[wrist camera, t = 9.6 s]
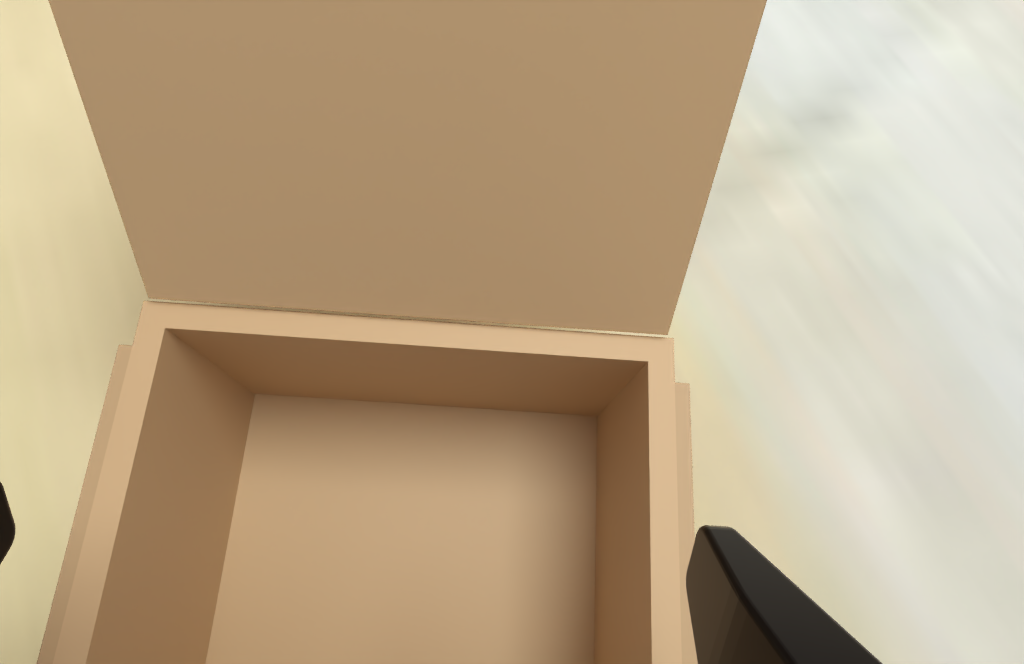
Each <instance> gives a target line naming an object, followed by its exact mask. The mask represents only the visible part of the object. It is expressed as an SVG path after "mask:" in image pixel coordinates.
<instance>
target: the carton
mask: <svg viewBox="0 0 1024 664" xmlns="http://www.w3.org/2000/svg"><path fill="white" fill-rule="evenodd" d="M694 542H695V540H694V509H693V479H692V448H691V418H690V387H689V384H687V383H675V373H674V338H663V337H649V336H635V335H621V334H606V333H592V332H578V331H564V330H550V329H536V328H522V327H508V326H493V325H479V324H465V323H451V322H437V321H423V320H409V319H395V318H381V317H366V316H352V315H338V314H324V313H310V312H296V311H282V310H268V309H254V308H239V307H225V306H211V305H197V304H183V303H169V302H155V301H144V302H143V306H142V310H141V314H140V318H139V322H138V326H137V330H136V334H135V338H134V341H133V345H132V346H130V345H119V347H118V351H117V355H116V358H115V362H114V366H113V370H112V374H111V378H110V382H109V386H108V389H107V393H106V397H105V401H104V405H103V409H102V413H101V417H100V421H99V424H98V428H97V432H96V436H95V440H94V444H93V448H92V452H91V455H90V459H89V463H88V467H87V471H86V475H85V479H84V483H83V486H82V490H81V494H80V498H79V502H78V506H77V510H76V514H75V517H74V521H73V525H72V529H71V533H70V537H69V541H68V545H67V548H66V552H65V556H64V560H63V564H62V568H61V572H60V576H59V580H58V583H57V587H56V591H55V595H54V599H53V603H52V607H51V611H50V614H49V618H48V622H47V626H46V630H45V634H44V638H43V642H42V645H41V649H40V653H39V657H38V661H37V664H698V661H697V655H696V649H695V642H694V636H693V629H692V623H691V617H690V610H689V604H688V598H687V591H686V573H687V568H688V564H689V561H690V557H691V553H692V549H693V545H694Z"/></svg>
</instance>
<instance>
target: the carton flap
mask: <svg viewBox="0 0 1024 664" xmlns="http://www.w3.org/2000/svg"><path fill="white" fill-rule="evenodd" d="M766 1H767V0H49V3H50V6H51V9H52V12H53V15H54V18H55V21H56V24H57V27H58V30H59V33H60V36H61V39H62V42H63V45H64V48H65V51H66V54H67V57H68V60H69V63H70V66H71V69H72V72H73V75H74V77H75V80H76V83H77V86H78V89H79V92H80V95H81V98H82V101H83V104H84V107H85V110H86V113H87V116H88V119H89V122H90V125H91V128H92V131H93V134H94V137H95V140H96V143H97V146H98V149H99V152H100V155H101V158H102V161H103V164H104V167H105V170H106V173H107V176H108V179H109V182H110V185H111V188H112V190H113V193H114V196H115V199H116V202H117V205H118V208H119V211H120V214H121V217H122V220H123V223H124V226H125V229H126V232H127V235H128V238H129V241H130V244H131V247H132V250H133V253H134V256H135V259H136V262H137V265H138V268H139V271H140V274H141V277H142V280H143V283H144V286H145V289H146V292H147V295H148V298H154V299H168V300H182V301H197V302H211V303H225V304H239V305H253V306H267V307H281V308H295V309H309V310H323V311H337V312H351V313H366V314H380V315H394V316H408V317H422V318H436V319H450V320H464V321H478V322H492V323H506V324H520V325H534V326H549V327H563V328H577V329H591V330H605V331H619V332H633V333H647V334H661V335H668V332H669V328H670V325H671V321H672V318H673V315H674V311H675V308H676V305H677V301H678V298H679V295H680V291H681V288H682V284H683V281H684V278H685V274H686V271H687V268H688V264H689V261H690V257H691V254H692V251H693V247H694V244H695V241H696V237H697V234H698V231H699V227H700V224H701V220H702V217H703V214H704V210H705V207H706V204H707V200H708V197H709V193H710V190H711V187H712V183H713V180H714V177H715V173H716V170H717V167H718V163H719V160H720V156H721V153H722V150H723V146H724V143H725V140H726V136H727V133H728V129H729V126H730V123H731V119H732V116H733V113H734V109H735V106H736V103H737V99H738V96H739V92H740V89H741V86H742V82H743V79H744V76H745V72H746V69H747V65H748V62H749V59H750V55H751V52H752V49H753V45H754V42H755V39H756V35H757V32H758V28H759V25H760V22H761V18H762V15H763V12H764V8H765V5H766Z"/></svg>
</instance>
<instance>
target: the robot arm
mask: <svg viewBox="0 0 1024 664" xmlns="http://www.w3.org/2000/svg"><path fill="white" fill-rule="evenodd" d="M14 536H15V523H14V520H13V517H12V514H11V510H10V507H9V504H8V501H7V497H6V494H5V491H4V488H3V485H2V483H1V482H0V564H1V562H2V561H3V559H4V557H5V556H6V554H7V552H8V551H9V549H10V547H11V545H12V543H13V540H14ZM686 591H687V598H688V604H689V610H690V617H691V623H692V629H693V636H694V642H695V649H696V655H697V661H698V664H882V663H881V662H880V661H879V660H878V659H877V658H876V657H874V656H873V655H872V654H871V653H870V652H869V651H868V650H867V649H866V648H865V647H863V646H862V645H861V644H860V643H859V642H858V641H857V640H856V639H855V638H854V637H852V636H851V635H850V634H849V633H848V632H847V631H846V630H845V629H844V628H843V627H841V626H840V625H839V624H838V623H837V622H836V621H835V620H834V619H833V618H832V617H830V616H829V615H828V614H827V613H826V612H825V611H824V610H823V609H822V608H821V607H819V606H818V605H817V604H816V603H815V602H814V601H813V600H812V599H811V598H810V597H808V596H807V595H806V594H805V593H804V592H803V591H802V590H801V589H800V588H799V587H797V586H796V585H795V584H794V583H793V582H792V581H791V580H790V579H789V578H788V577H786V576H785V575H784V574H783V573H782V572H781V571H780V570H779V569H778V568H777V567H775V566H774V565H773V564H772V563H771V562H770V561H769V560H768V559H767V558H766V557H764V556H763V555H762V554H761V553H760V552H759V551H758V550H757V549H756V548H755V547H753V546H752V545H751V544H750V543H749V542H748V541H747V540H746V539H745V538H744V537H742V536H741V535H740V534H739V533H738V532H737V531H736V530H734V529H733V528H730V527H724V526H709V525H704V526H702V527H700V528H699V530H698V532H697V534H696V538H695V542H694V545H693V549H692V553H691V557H690V561H689V564H688V568H687V573H686Z"/></svg>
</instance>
